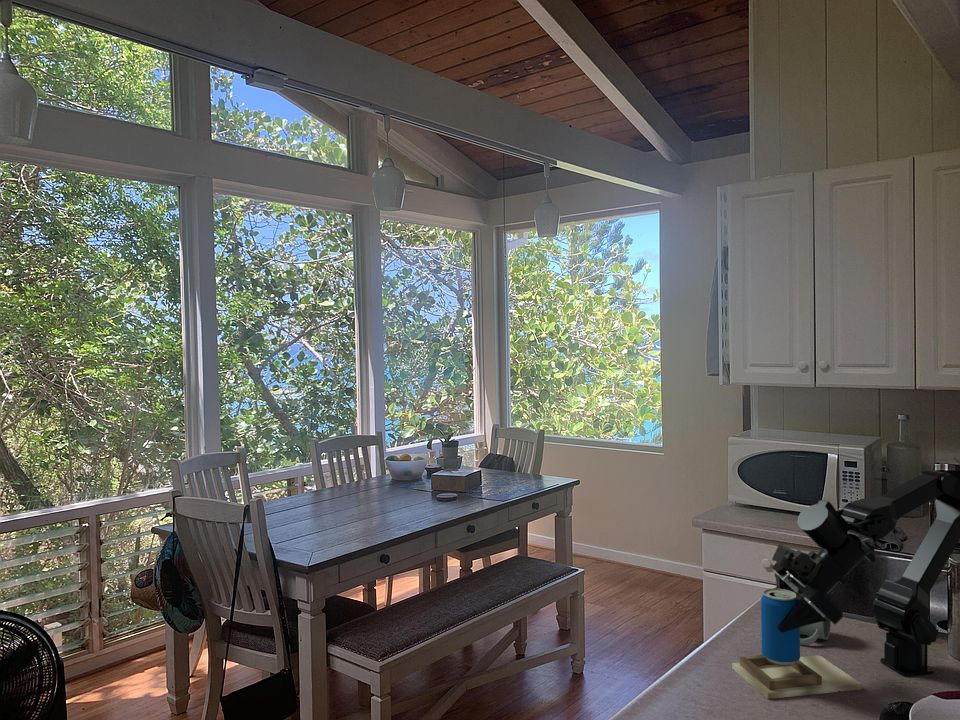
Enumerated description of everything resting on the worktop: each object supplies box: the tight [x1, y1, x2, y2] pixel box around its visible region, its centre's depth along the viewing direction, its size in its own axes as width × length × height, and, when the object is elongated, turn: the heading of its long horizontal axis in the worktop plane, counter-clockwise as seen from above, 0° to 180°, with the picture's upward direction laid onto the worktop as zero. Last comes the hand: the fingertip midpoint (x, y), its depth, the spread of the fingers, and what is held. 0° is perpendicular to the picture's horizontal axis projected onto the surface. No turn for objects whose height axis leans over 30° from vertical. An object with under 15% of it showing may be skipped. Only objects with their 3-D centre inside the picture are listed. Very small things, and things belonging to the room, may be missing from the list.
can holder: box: [731, 654, 862, 700], centre depth 134 cm, size 18×12×2 cm, turn 100°
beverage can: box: [760, 588, 801, 665], centre depth 133 cm, size 6×6×12 cm
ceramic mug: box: [800, 616, 832, 646], centre depth 153 cm, size 11×8×8 cm
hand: (772, 622), depth 133 cm, fingers closed on beverage can, 6 cm apart
